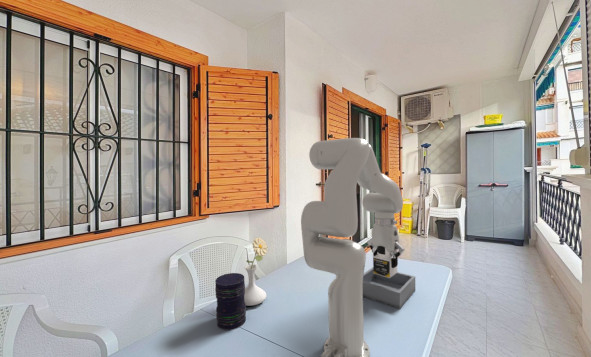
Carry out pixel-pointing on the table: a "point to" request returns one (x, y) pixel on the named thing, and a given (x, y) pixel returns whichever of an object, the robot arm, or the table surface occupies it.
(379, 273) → the medicine bottle
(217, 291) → the dark blue cylinder
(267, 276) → the table surface
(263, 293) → the flower in vase
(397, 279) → the bin
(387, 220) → the robot arm
